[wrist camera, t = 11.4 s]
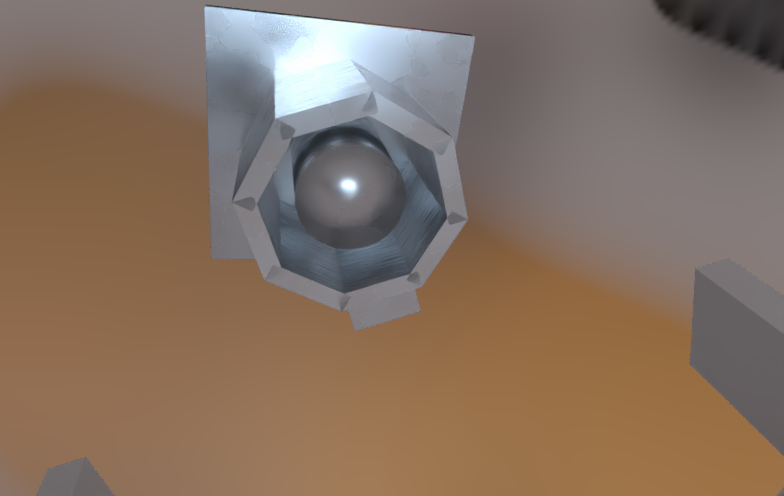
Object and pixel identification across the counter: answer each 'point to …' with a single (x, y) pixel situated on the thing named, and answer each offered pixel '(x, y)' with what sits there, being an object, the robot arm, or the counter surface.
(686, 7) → the counter surface
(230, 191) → the square plate with knob
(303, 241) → the grey piece
